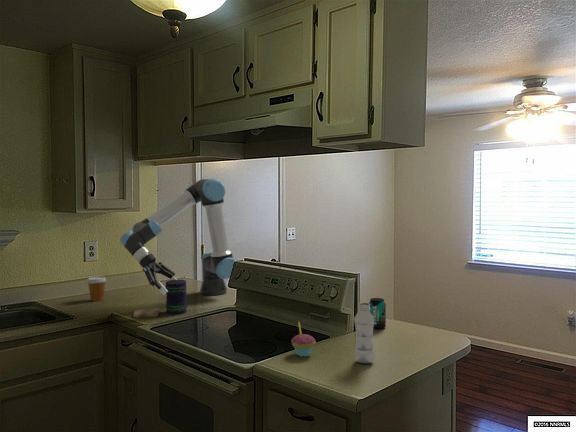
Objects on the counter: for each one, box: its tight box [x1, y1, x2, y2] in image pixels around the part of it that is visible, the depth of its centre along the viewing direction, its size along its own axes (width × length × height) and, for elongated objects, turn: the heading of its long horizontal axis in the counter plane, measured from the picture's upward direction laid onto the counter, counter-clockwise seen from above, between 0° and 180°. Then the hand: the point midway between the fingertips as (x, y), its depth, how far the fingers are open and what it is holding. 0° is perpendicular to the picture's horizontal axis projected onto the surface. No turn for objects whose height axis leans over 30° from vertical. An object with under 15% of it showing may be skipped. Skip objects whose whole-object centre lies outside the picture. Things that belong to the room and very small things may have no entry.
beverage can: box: [368, 297, 387, 330], centre depth 209 cm, size 7×7×12 cm
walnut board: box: [132, 308, 160, 318], centre depth 236 cm, size 11×10×1 cm
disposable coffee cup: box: [86, 276, 107, 302], centre depth 267 cm, size 10×10×12 cm
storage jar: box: [165, 279, 188, 316], centre depth 239 cm, size 10×10×15 cm
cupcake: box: [290, 320, 317, 357], centre depth 177 cm, size 9×8×12 cm
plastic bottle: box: [353, 302, 376, 365], centre depth 168 cm, size 6×7×20 cm
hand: (173, 290), depth 238 cm, fingers open, 13 cm apart
